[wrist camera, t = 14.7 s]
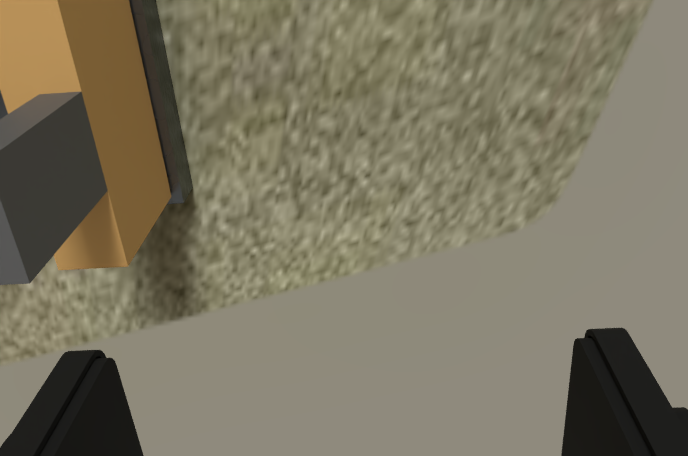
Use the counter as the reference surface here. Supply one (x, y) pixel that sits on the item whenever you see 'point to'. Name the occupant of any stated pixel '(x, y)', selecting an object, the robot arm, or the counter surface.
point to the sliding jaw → (74, 138)
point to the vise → (158, 97)
